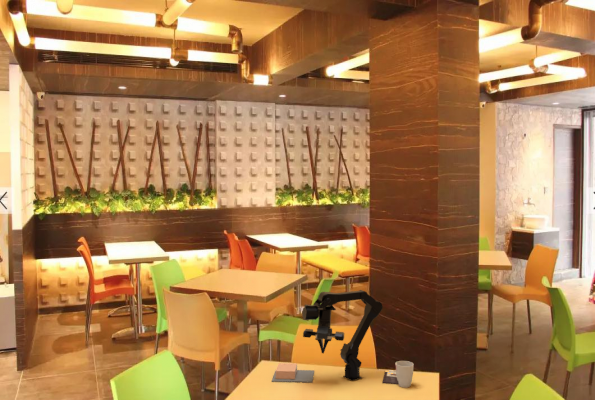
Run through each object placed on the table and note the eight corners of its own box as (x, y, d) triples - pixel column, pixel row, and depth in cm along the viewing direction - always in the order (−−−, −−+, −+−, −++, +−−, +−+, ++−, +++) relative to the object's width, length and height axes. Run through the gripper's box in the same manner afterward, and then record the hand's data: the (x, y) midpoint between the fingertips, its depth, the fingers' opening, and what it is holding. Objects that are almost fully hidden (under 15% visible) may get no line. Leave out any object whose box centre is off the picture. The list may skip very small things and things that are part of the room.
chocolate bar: (382, 382, 250) (385, 369, 267) (382, 384, 250) (385, 371, 267) (402, 383, 248) (403, 371, 265) (402, 385, 248) (403, 373, 265)
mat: (314, 371, 267) (314, 370, 267) (312, 382, 251) (312, 381, 251) (275, 370, 269) (275, 369, 269) (271, 381, 253) (271, 380, 253)
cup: (402, 381, 252) (402, 359, 252) (417, 385, 246) (417, 363, 246) (391, 385, 247) (391, 363, 247) (407, 390, 241) (406, 367, 241)
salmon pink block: (297, 363, 266) (278, 363, 267) (294, 371, 254) (275, 371, 255) (297, 371, 266) (278, 370, 267) (294, 379, 254) (275, 379, 255)
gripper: (302, 321, 247) (300, 355, 247) (343, 324, 244) (341, 359, 244) (305, 316, 258) (304, 349, 258) (345, 320, 255) (343, 353, 255)
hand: (322, 353), depth 253 cm, fingers closed
